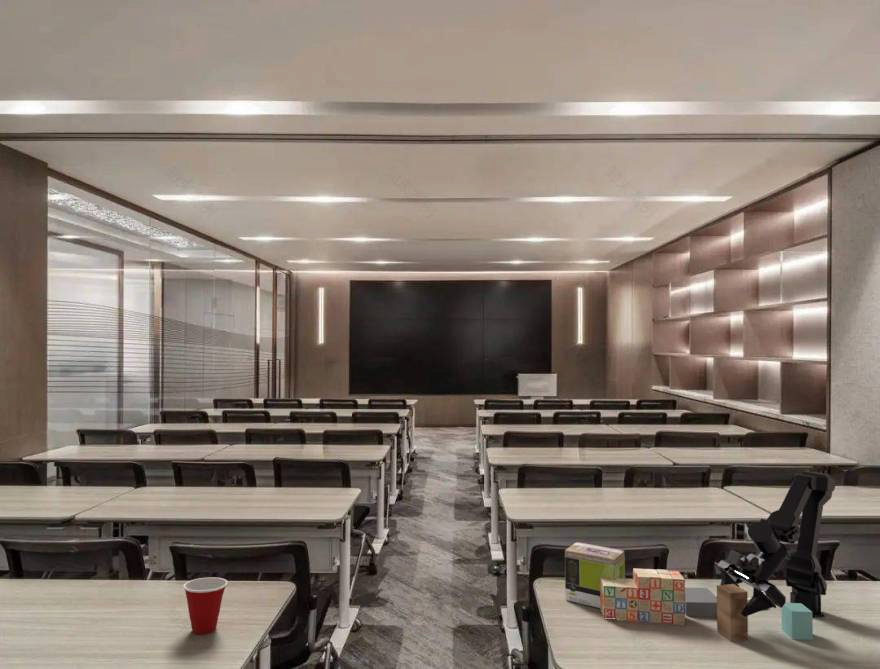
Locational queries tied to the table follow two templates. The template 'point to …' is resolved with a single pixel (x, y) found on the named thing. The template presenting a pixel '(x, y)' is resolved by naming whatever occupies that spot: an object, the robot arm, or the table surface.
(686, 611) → the base block
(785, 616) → the teal block
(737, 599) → the walnut block
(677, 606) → the stack of blocks
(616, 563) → the tea box
